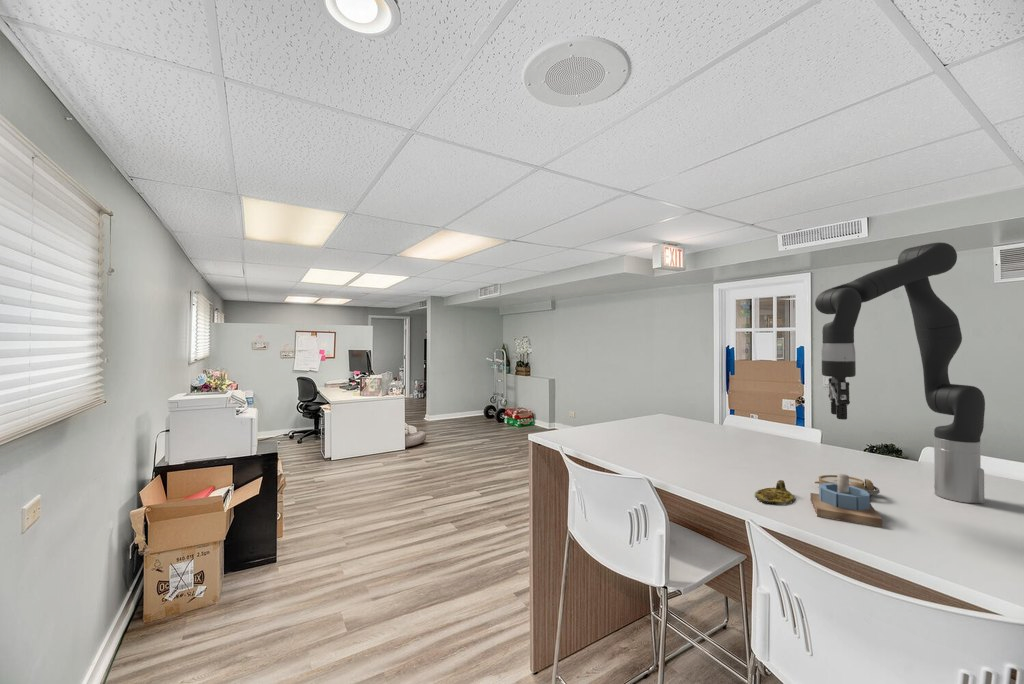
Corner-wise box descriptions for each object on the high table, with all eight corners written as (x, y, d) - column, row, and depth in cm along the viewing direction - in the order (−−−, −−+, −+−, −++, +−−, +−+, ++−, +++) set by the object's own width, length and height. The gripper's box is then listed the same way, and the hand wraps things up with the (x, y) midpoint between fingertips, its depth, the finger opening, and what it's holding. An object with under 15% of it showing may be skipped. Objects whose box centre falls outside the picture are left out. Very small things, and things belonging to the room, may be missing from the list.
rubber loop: (863, 499, 114) (863, 487, 114) (873, 513, 105) (873, 499, 105) (817, 492, 120) (817, 480, 120) (822, 505, 111) (822, 492, 111)
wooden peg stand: (868, 508, 113) (868, 472, 113) (881, 527, 102) (881, 486, 102) (810, 499, 120) (810, 465, 120) (817, 516, 108) (816, 478, 108)
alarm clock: (829, 473, 135) (885, 478, 122) (832, 488, 134) (889, 495, 121) (809, 478, 130) (866, 484, 117) (812, 494, 129) (870, 502, 116)
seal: (783, 514, 113) (799, 499, 123) (786, 497, 113) (801, 484, 123) (747, 500, 120) (765, 487, 130) (749, 485, 120) (767, 473, 130)
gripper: (861, 360, 108) (862, 422, 108) (849, 358, 120) (850, 413, 120) (825, 360, 112) (826, 419, 112) (817, 358, 124) (818, 411, 124)
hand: (838, 416), depth 116 cm, fingers open, 8 cm apart
